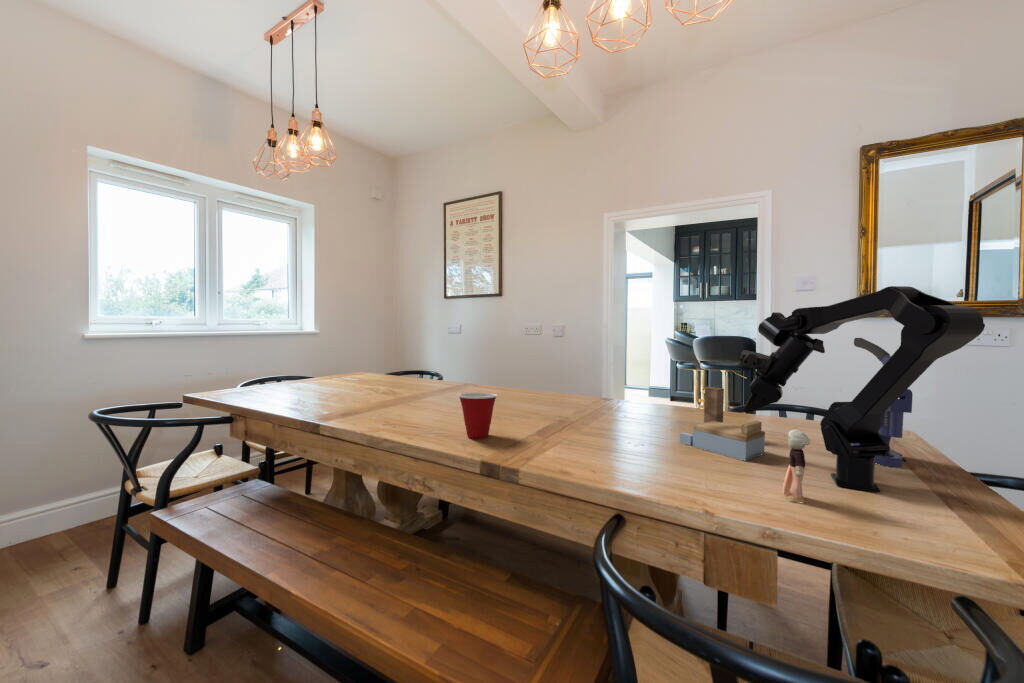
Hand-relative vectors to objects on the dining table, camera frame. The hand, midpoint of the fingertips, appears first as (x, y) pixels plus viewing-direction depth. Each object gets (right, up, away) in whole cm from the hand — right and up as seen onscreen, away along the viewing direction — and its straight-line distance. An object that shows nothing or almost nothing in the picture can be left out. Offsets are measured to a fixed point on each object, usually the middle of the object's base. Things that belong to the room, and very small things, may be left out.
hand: (747, 406), depth 101 cm
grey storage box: (-7, -11, 0) cm, 13 cm away
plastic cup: (-69, -10, +10) cm, 70 cm away
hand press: (+27, -11, -5) cm, 30 cm away
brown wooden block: (-3, -10, +11) cm, 15 cm away
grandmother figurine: (-8, -12, -29) cm, 32 cm away
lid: (-6, -6, -1) cm, 9 cm away
